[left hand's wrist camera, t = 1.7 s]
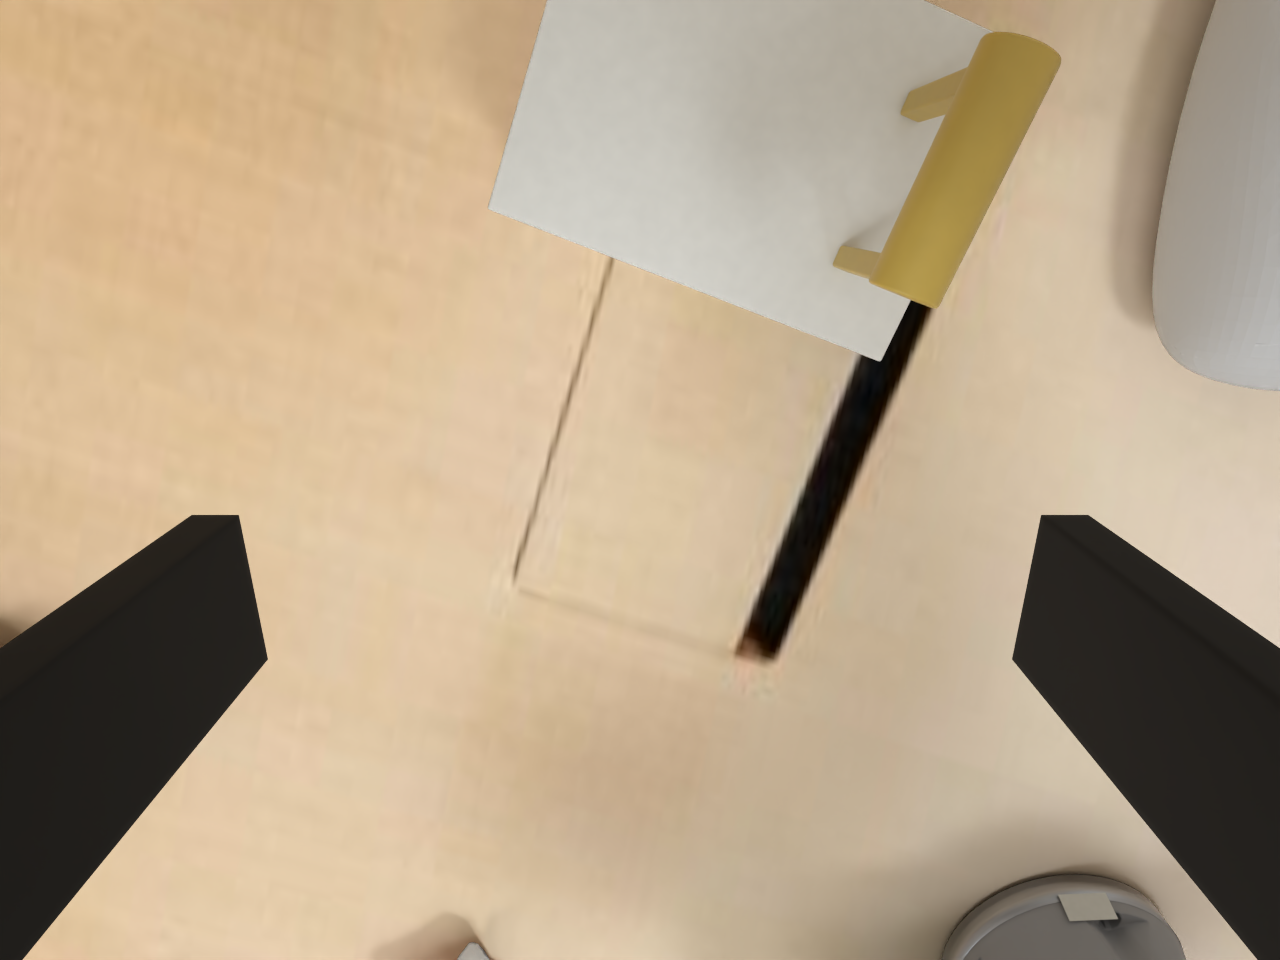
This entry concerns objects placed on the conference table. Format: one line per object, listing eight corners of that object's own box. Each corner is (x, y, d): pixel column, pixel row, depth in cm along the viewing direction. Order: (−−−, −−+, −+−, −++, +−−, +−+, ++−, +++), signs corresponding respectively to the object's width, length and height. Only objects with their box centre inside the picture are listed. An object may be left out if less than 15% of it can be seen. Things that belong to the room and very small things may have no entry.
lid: (1014, 57, 23) (1205, -19, 15) (870, 355, 26) (968, 418, 19) (593, -135, 21) (567, -329, 14) (493, 208, 25) (426, 210, 17)
